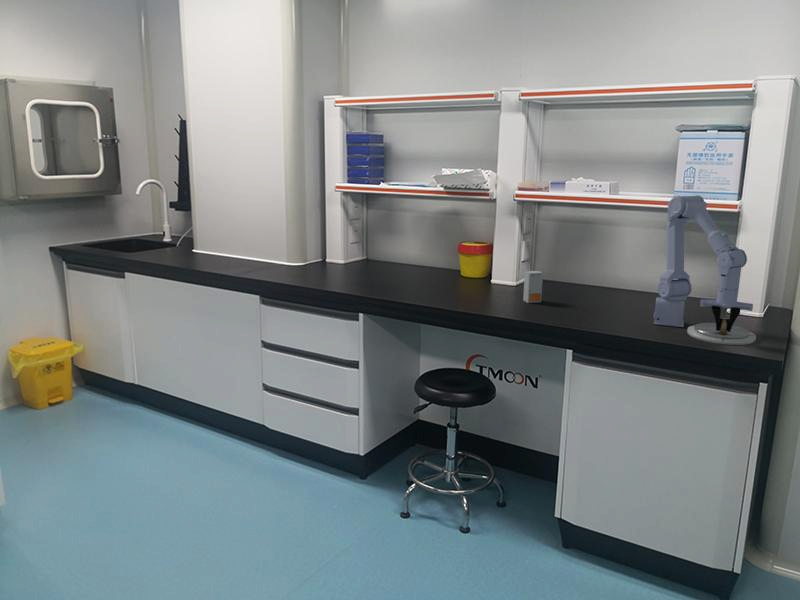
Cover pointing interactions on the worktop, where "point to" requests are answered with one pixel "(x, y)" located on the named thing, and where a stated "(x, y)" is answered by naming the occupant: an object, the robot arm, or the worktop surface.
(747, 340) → the dial plate
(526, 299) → the skincare box
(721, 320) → the dial
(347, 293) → the worktop surface
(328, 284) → the worktop surface
